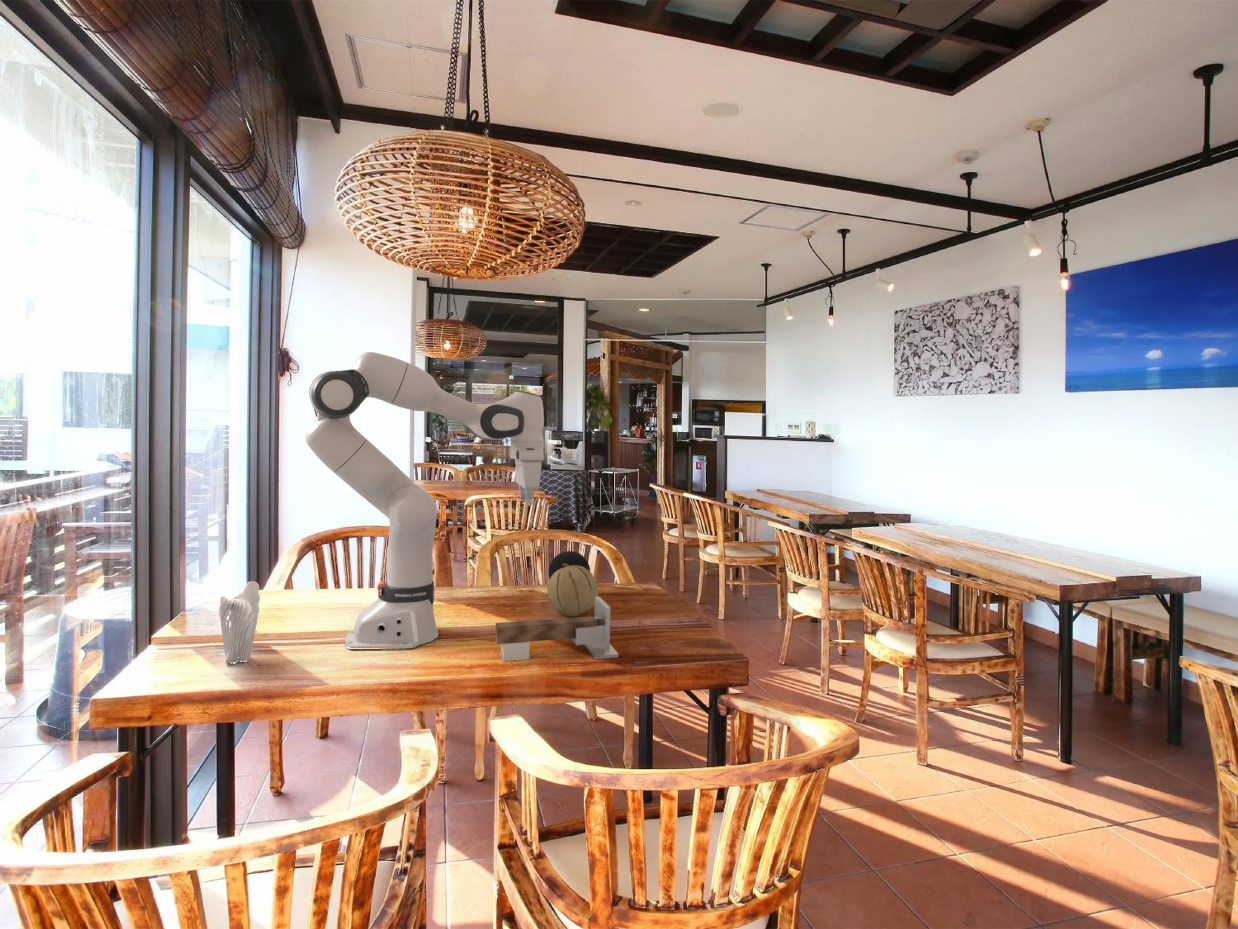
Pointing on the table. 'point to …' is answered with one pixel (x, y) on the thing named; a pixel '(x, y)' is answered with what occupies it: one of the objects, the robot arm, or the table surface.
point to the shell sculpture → (239, 622)
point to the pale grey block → (515, 651)
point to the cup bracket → (597, 633)
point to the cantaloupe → (572, 590)
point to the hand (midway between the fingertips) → (526, 503)
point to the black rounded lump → (567, 561)
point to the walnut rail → (540, 629)
